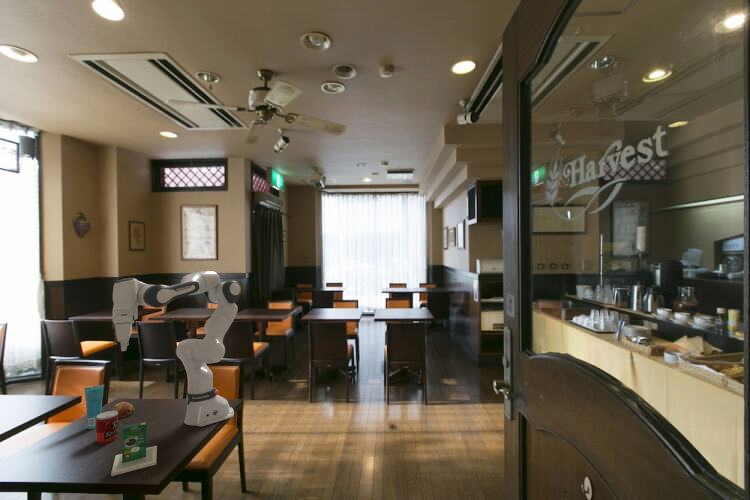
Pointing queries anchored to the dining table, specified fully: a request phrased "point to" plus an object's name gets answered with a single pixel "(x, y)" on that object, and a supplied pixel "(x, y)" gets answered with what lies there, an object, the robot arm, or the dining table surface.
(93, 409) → the tube
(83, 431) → the dining table surface
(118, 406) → the bread roll
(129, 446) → the coffee box
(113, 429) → the canned food
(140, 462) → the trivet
